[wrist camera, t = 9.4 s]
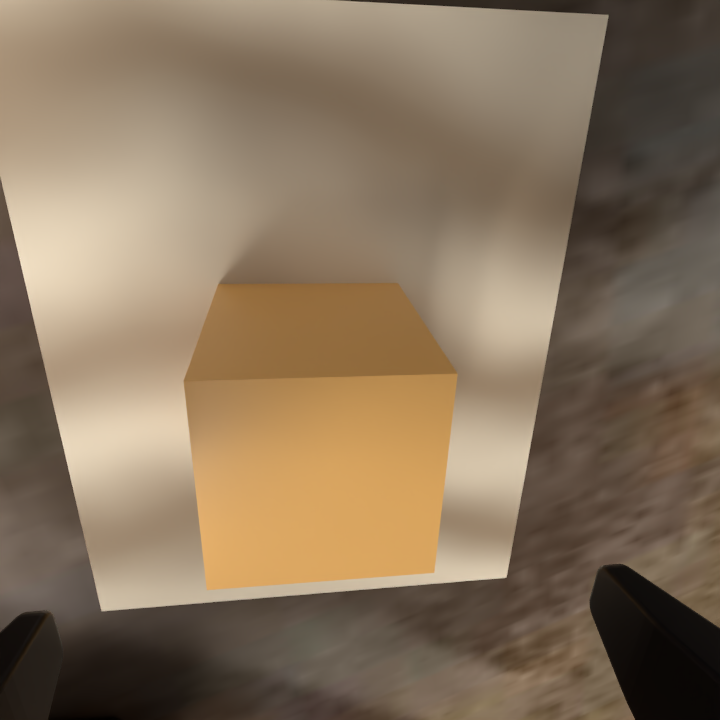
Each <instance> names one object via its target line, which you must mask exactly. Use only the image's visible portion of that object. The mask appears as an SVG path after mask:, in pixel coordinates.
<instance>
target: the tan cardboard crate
mask: <svg viewBox="0 0 720 720" xmlns="http://www.w3.org/2000/svg"><path fill="white" fill-rule="evenodd" d="M457 375H458V373H457V372H456V370H455V369H454V367H453V366H452V364H451V363H450V361H449V360H448V358H447V357H446V355H445V354H444V352H443V351H442V349H441V348H440V346H439V345H438V343H437V342H436V340H435V339H434V337H433V335H432V334H431V332H430V331H429V329H428V328H427V326H426V325H425V323H424V322H423V320H422V319H421V317H420V316H419V314H418V313H417V311H416V310H415V308H414V307H413V305H412V304H411V302H410V301H409V299H408V298H407V296H406V295H405V293H404V291H403V290H402V288H401V287H400V285H399V284H398V283H310V284H218V286H217V289H216V292H215V294H214V297H213V300H212V303H211V306H210V308H209V311H208V314H207V317H206V320H205V322H204V325H203V328H202V331H201V334H200V336H199V339H198V342H197V345H196V348H195V350H194V353H193V356H192V359H191V362H190V364H189V367H188V370H187V373H186V376H185V378H184V390H185V399H186V408H187V417H188V426H189V435H190V444H191V453H192V462H193V471H194V480H195V489H196V498H197V507H198V516H199V525H200V534H201V543H202V552H203V561H204V570H205V579H206V588H207V590H216V589H229V588H242V587H255V586H269V585H282V584H295V583H308V582H321V581H335V580H348V579H361V578H374V577H388V576H401V575H414V574H427V573H434V571H435V563H436V554H437V546H438V537H439V528H440V520H441V511H442V503H443V494H444V486H445V477H446V469H447V460H448V452H449V443H450V435H451V426H452V418H453V409H454V401H455V392H456V384H457Z"/></svg>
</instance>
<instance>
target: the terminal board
mask: <svg viewBox="0 0 720 720" xmlns="http://www.w3.org/2000/svg"><path fill="white" fill-rule="evenodd" d="M608 17H609V15H600V14H581V13H562V12H544V11H525V10H506V9H488V8H469V7H450V6H432V5H413V4H394V3H375V2H357V1H338V0H0V176H1V181H2V185H3V189H4V194H5V198H6V202H7V206H8V211H9V215H10V219H11V224H12V228H13V232H14V237H15V241H16V245H17V250H18V254H19V258H20V262H21V267H22V271H23V275H24V280H25V284H26V288H27V293H28V297H29V301H30V305H31V310H32V314H33V318H34V323H35V327H36V331H37V336H38V340H39V344H40V349H41V353H42V357H43V361H44V366H45V370H46V374H47V379H48V383H49V387H50V392H51V396H52V400H53V404H54V409H55V413H56V417H57V422H58V426H59V430H60V435H61V439H62V443H63V448H64V452H65V456H66V460H67V465H68V469H69V473H70V478H71V482H72V486H73V491H74V495H75V499H76V503H77V508H78V512H79V516H80V521H81V525H82V529H83V534H84V538H85V542H86V547H87V551H88V555H89V559H90V564H91V568H92V572H93V577H94V581H95V585H96V590H97V594H98V598H99V602H100V607H101V611H112V610H124V609H136V608H148V607H160V606H172V605H184V604H196V603H208V602H220V601H232V600H244V599H256V598H268V597H280V596H292V595H304V594H316V593H328V592H340V591H352V590H364V589H376V588H388V587H400V586H412V585H424V584H436V583H448V582H460V581H472V580H484V579H496V578H506V577H507V572H508V566H509V561H510V555H511V550H512V544H513V539H514V533H515V528H516V522H517V517H518V511H519V506H520V500H521V495H522V489H523V484H524V478H525V473H526V467H527V462H528V456H529V451H530V445H531V440H532V434H533V429H534V423H535V418H536V412H537V407H538V401H539V396H540V390H541V385H542V379H543V374H544V368H545V363H546V357H547V352H548V346H549V341H550V335H551V330H552V324H553V319H554V313H555V308H556V302H557V297H558V291H559V286H560V280H561V275H562V269H563V264H564V258H565V253H566V247H567V242H568V236H569V231H570V225H571V220H572V214H573V209H574V203H575V198H576V192H577V187H578V181H579V176H580V170H581V165H582V159H583V154H584V148H585V143H586V137H587V132H588V126H589V121H590V115H591V110H592V104H593V99H594V93H595V88H596V82H597V77H598V71H599V66H600V60H601V55H602V50H603V44H604V39H605V33H606V28H607V22H608ZM310 283H398V284H399V285H400V287H401V288H402V290H403V291H404V293H405V295H406V296H407V298H408V299H409V301H410V302H411V304H412V305H413V307H414V308H415V310H416V311H417V313H418V314H419V316H420V317H421V319H422V320H423V322H424V323H425V325H426V326H427V328H428V329H429V331H430V332H431V334H432V335H433V337H434V339H435V340H436V342H437V343H438V345H439V346H440V348H441V349H442V351H443V352H444V354H445V355H446V357H447V358H448V360H449V361H450V363H451V364H452V366H453V367H454V369H455V370H456V372H457V373H458V375H457V384H456V392H455V401H454V409H453V418H452V426H451V435H450V443H449V452H448V460H447V469H446V477H445V486H444V494H443V503H442V511H441V520H440V528H439V537H438V546H437V554H436V563H435V571H434V573H427V574H414V575H401V576H388V577H374V578H361V579H348V580H335V581H321V582H308V583H295V584H282V585H269V586H255V587H242V588H229V589H216V590H207V588H206V579H205V570H204V561H203V552H202V543H201V534H200V525H199V516H198V507H197V498H196V489H195V480H194V471H193V462H192V453H191V444H190V435H189V426H188V417H187V408H186V399H185V390H184V378H185V376H186V373H187V370H188V367H189V364H190V362H191V359H192V356H193V353H194V350H195V348H196V345H197V342H198V339H199V336H200V334H201V331H202V328H203V325H204V322H205V320H206V317H207V314H208V311H209V308H210V306H211V303H212V300H213V297H214V294H215V292H216V289H217V286H218V284H310Z"/></svg>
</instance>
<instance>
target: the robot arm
mask: <svg viewBox="0 0 720 720" xmlns="http://www.w3.org/2000/svg"><path fill="white" fill-rule="evenodd" d="M590 610H591V613H592V616H593V619H594V621H595V624H596V626H597V629H598V631H599V634H600V636H601V639H602V642H603V644H604V647H605V649H606V652H607V654H608V657H609V659H610V662H611V664H612V667H613V669H614V672H615V674H616V677H617V679H618V682H619V685H620V687H621V690H622V692H623V694H624V697H625V699H626V701H627V704H628V706H629V708H630V710H631V712H632V714H633V716H634V718H635V720H720V628H719V627H717V626H716V625H714V624H713V623H711V622H710V621H708V620H707V619H705V618H704V617H702V616H701V615H699V614H698V613H696V612H695V611H693V610H692V609H690V608H689V607H687V606H686V605H684V604H683V603H681V602H680V601H678V600H677V599H676V598H674V597H673V596H671V595H670V594H668V593H667V592H665V591H664V590H662V589H661V588H659V587H658V586H656V585H655V584H653V583H652V582H650V581H649V580H647V579H646V578H644V577H643V576H641V575H640V574H638V573H637V572H635V571H634V570H632V569H631V568H629V567H628V566H626V565H623V564H613V565H603V566H601V567H600V568H599V569H598V571H597V574H596V578H595V581H594V585H593V589H592V592H591V596H590ZM62 659H63V646H62V642H61V639H60V635H59V632H58V628H57V625H56V621H55V618H54V615H53V614H52V613H51V612H50V611H34V612H25V613H22V614H21V615H19V616H17V617H16V618H15V619H14V620H13V621H12V622H11V623H10V624H9V625H7V626H6V627H5V628H4V629H3V630H2V631H1V632H0V720H48V717H49V713H50V709H51V705H52V701H53V697H54V693H55V689H56V685H57V681H58V677H59V673H60V669H61V665H62Z"/></svg>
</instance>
